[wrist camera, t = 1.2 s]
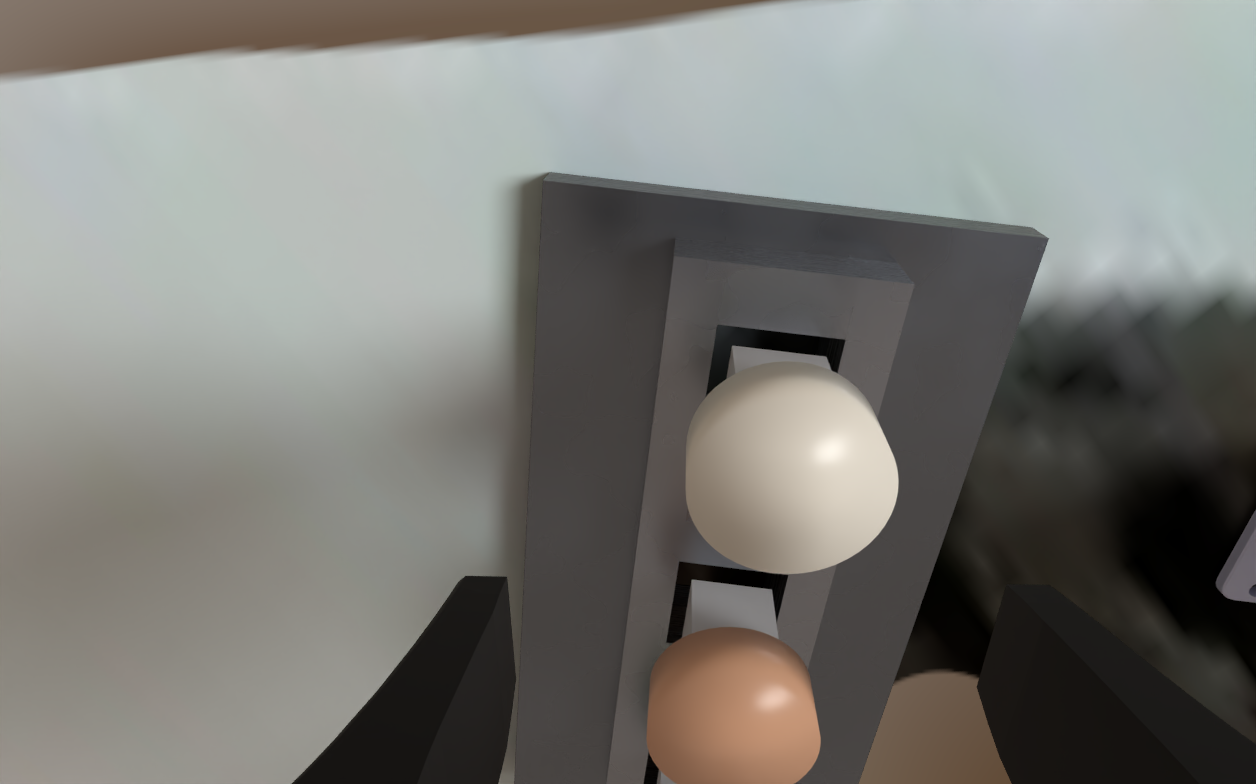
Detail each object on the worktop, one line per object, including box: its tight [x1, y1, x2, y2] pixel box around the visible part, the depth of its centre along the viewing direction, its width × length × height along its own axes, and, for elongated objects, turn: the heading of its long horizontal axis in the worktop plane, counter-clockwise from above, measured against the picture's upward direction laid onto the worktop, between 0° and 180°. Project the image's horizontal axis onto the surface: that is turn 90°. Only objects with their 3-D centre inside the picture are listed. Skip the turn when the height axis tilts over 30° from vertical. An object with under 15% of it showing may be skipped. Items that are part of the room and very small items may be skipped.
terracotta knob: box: [646, 580, 821, 784], centre depth 20 cm, size 4×4×4 cm
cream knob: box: [685, 346, 899, 574], centre depth 17 cm, size 4×4×4 cm
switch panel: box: [514, 172, 1049, 784], centre depth 23 cm, size 12×22×3 cm, turn 174°
